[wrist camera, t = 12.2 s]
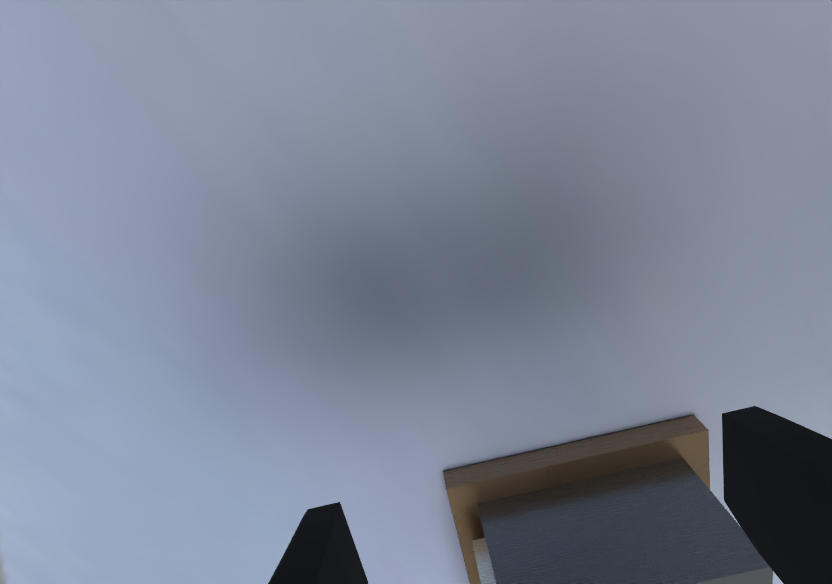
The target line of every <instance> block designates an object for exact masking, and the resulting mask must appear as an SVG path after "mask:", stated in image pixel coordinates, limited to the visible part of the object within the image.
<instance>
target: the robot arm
mask: <svg viewBox="0 0 832 584" xmlns="http://www.w3.org/2000/svg"><path fill="white" fill-rule="evenodd" d="M722 429H723V475H724V501H725V503H726V504H727V506H728V507H729V509H730V510H731V512H732V514H733V515H734V517H735V518H736V520H737V521H738V523H739V525H740V526H741V528H742V529H743V531H744V532H745V534H746V535H747V537H748V538H749V540H750V541H751V542H752V544H753V545H754V547H755V548H756V550H757V551H758V553H759V554H760V555H761V557H762V558H763V559H764V560H765V561H766V563H767V564H768V565H769V566H770V568H771V569H772V570H773V571H774V572H775V574H776V575H777V576H778V577H779V579H780V580H781V581H782V582H783V583H784V584H832V439H830V438H828V437H826V436H823V435H821V434H819V433H817V432H814V431H812V430H810V429H808V428H805V427H803V426H801V425H799V424H796V423H794V422H792V421H790V420H787V419H785V418H783V417H780V416H778V415H776V414H773V413H771V412H769V411H766V410H764V409H761V408H759V407H756V406H753V407H749V408H745V409H740V410H736V411H732V412H727V413H723V414H722ZM268 584H368V581H367V578H366V575H365V572H364V569H363V567H362V564H361V561H360V558H359V555H358V552H357V550H356V547H355V544H354V541H353V538H352V535H351V533H350V530H349V527H348V524H347V521H346V518H345V516H344V513H343V510H342V507H341V504H340V502H338V503H334V504H329V505H325V506H321V507H316V508H312V509H308V510H307V512H306V513H305V515H304V516H303V518H302V520H301V522H300V524H299V526H298V528H297V530H296V532H295V534H294V536H293V538H292V540H291V542H290V543H289V545H288V547H287V549H286V551H285V553H284V555H283V557H282V559H281V561H280V563H279V565H278V566H277V568H276V570H275V572H274V574H273V576H272V578H271V580H270V581H269V583H268Z"/></svg>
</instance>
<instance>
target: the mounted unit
mask: <svg viewBox="0 0 832 584" xmlns="http://www.w3.org/2000/svg"><path fill="white" fill-rule="evenodd" d="M443 472H444V478H445V484H446V489H447V493H448V497H449V501H450V505H451V509H452V513H453V517H454V521H455V525H456V529H457V533H458V537H459V541H460V545H461V549H462V553H463V557H464V561H465V565H466V569H467V573H468V577H469V581H470V584H772V580H773V570H772V569H771V568H770V566H769V565H768V564H767V563H766V561H765V560H764V559H763V558H762V557H761V555H760V554H759V553H758V551H757V550H756V548H755V547H754V545H753V544H752V542H751V541H750V540H749V538H748V537H747V535H746V534H745V532H744V531H743V529H742V528H741V527H740V526H739V525H738V523H737V522H736V521H735V520H734V519H733V517H732V516H731V515H730V514H729V513H728V511H727V510H726V509H725V508H724V506H723V505H722V504H721V503H720V502H719V500H718V499H717V498H716V497H715V496H714V494H713V493H712V492H711V491H710V474H709V436H708V429H707V428H706V427H705V426H704V425H703V424H702V423H701V422H700V421H699V420H698V419H697V418H696V417H695V416H694V415H691V416H687V417H682V418H678V419H674V420H669V421H665V422H660V423H656V424H651V425H647V426H643V427H638V428H634V429H629V430H625V431H620V432H616V433H612V434H607V435H603V436H598V437H594V438H589V439H585V440H580V441H576V442H572V443H567V444H563V445H558V446H554V447H549V448H545V449H541V450H536V451H532V452H527V453H523V454H518V455H514V456H510V457H505V458H501V459H496V460H492V461H487V462H483V463H479V464H474V465H470V466H465V467H461V468H456V469H452V470H448V471H443Z"/></svg>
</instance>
